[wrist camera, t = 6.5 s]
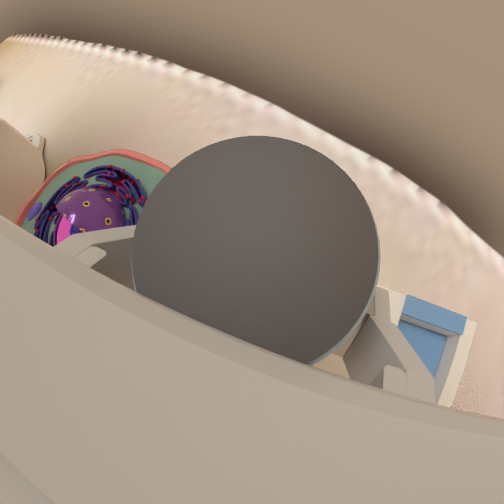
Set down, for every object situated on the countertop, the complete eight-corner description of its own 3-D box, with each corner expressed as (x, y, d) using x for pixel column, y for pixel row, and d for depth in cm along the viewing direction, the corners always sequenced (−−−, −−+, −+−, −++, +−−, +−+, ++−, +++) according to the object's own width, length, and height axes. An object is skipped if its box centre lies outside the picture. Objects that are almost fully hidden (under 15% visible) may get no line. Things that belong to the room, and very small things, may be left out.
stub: (208, 329, 16) (90, 312, 5) (242, 247, 17) (193, 111, 6) (293, 363, 15) (329, 419, 5) (326, 278, 16) (406, 178, 6)
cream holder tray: (209, 338, 25) (201, 338, 23) (248, 245, 27) (244, 234, 24) (433, 414, 22) (448, 420, 19) (462, 324, 23) (479, 322, 21)
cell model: (26, 314, 27) (-52, 296, 17) (127, 165, 31) (74, 98, 20) (130, 428, 24) (55, 464, 13) (258, 250, 27) (243, 191, 16)
